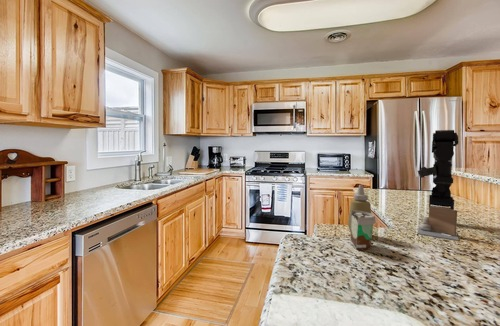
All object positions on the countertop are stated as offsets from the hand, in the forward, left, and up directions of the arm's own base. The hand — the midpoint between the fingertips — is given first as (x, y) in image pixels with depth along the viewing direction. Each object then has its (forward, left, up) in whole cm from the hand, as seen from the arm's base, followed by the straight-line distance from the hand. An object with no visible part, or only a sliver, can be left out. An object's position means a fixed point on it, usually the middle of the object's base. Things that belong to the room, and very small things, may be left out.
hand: (441, 199), depth 106 cm
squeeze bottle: (+32, -24, -12) cm, 42 cm away
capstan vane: (+10, -1, -11) cm, 15 cm away
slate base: (+9, -1, -12) cm, 15 cm away
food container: (+44, -20, -12) cm, 50 cm away
